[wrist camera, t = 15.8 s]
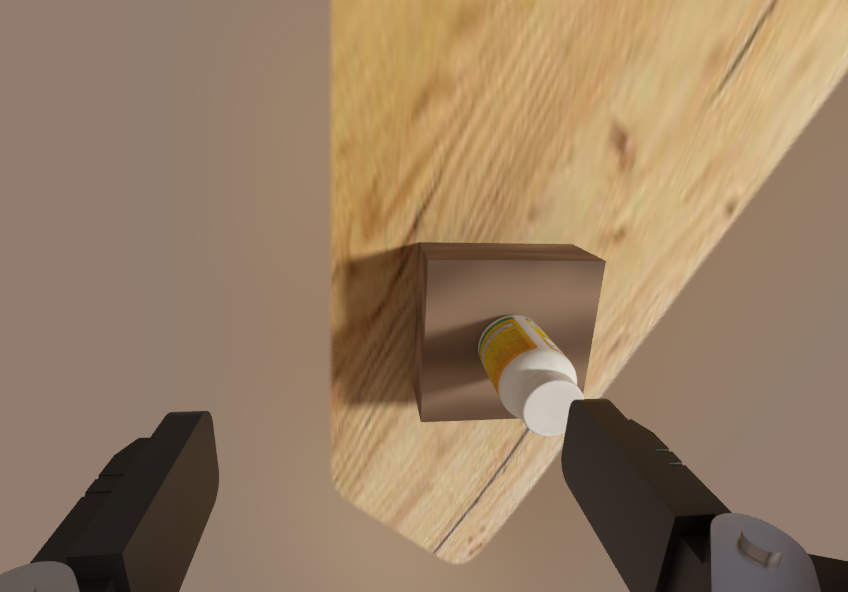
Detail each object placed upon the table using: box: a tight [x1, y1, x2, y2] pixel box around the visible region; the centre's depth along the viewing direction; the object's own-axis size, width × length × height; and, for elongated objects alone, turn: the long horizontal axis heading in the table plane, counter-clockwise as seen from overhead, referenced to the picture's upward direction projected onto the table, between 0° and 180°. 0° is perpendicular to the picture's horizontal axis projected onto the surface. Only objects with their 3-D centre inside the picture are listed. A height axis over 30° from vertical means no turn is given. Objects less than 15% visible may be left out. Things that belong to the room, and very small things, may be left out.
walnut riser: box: [414, 242, 606, 422], centre depth 40 cm, size 14×14×6 cm
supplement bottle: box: [478, 315, 584, 437], centre depth 33 cm, size 5×5×10 cm
